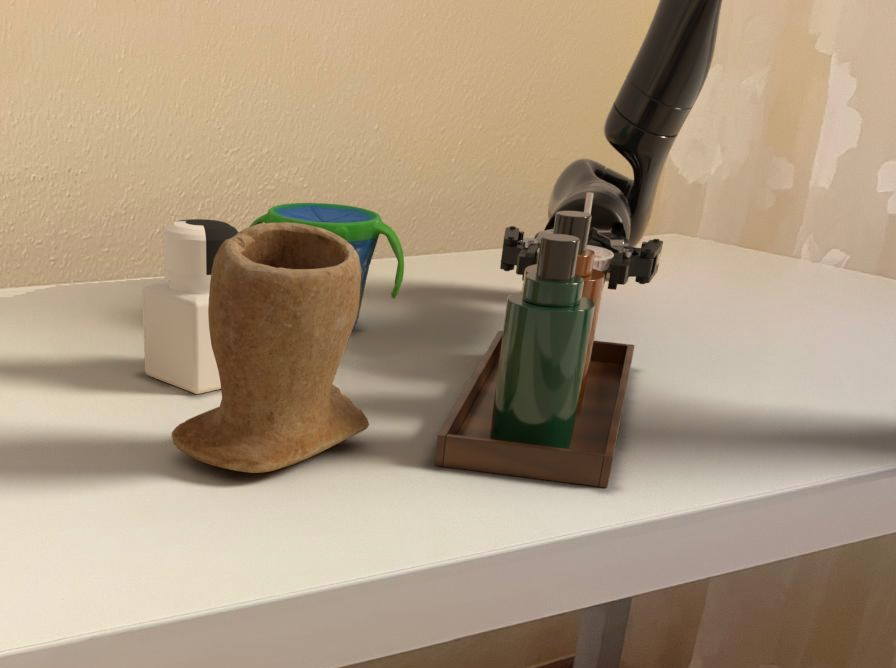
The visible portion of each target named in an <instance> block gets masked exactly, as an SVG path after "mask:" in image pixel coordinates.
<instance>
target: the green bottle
mask: <svg viewBox="0 0 896 668" xmlns="http://www.w3.org/2000/svg"><path fill="white" fill-rule="evenodd" d="M579 244H580V239H579V238H578V237H575V236H571V235H564V234H546V235H543V236H541V240H540V248H539V255H538V262H537V269H536V272H531V273H528V274H526V275H525V280H524V288H523V292H522V291H517V292H514V293H511V294H509V295H508V296H507V298H506V306H505V314H504V322H503V330H502V331H503V336H502V344H501V352H500V359H499V367H498V375H497V383H496V390H495V398H494V406H493V414H492V421H491V429H490V437H489V439H492V440H500V441H508V442H516V443H524V444H532V445H541V446H549V447H557V448H565V449H571V444H572V438H573V432H574V426H575V421H576V415H577V409H578V403H579V397H580V391H581V385H582V379H583V373H584V368H585V362H586V356H587V350H588V344H589V338H590V332H591V326H592V321H593V315H594V309H595V303H594V302H593V301H592V300H590V299H588V298H585V297H582V291H583V285H584V279H583V278H582V277H580V276H577V275H575V269H576V263H577V256H578V250H579Z"/></svg>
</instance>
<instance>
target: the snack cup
mask: <svg viewBox="0 0 896 668" xmlns="http://www.w3.org/2000/svg"><path fill="white" fill-rule="evenodd" d="M285 222H289V223H299V224H305V225H309V226H314V227H318V228H322V229H325V230H328V231H330V232H332V233H334V234H336V235H338V236H340V237H341V238H343V239H345V240H346V241H347V242H348V243H349V244H351V245H352V246H353V247H354V249H355V251H356V252H357V254H358V255H359V260H360V266H361V285H360V298H359V309H358V313H357V317H356V321H355V324H354V327H353V329H356V326H357V324H358V321H359V318H360V313H361V307H362V303H363V298H364V294H365V288H366V284H367V279H368V274H369V271H370V265H371V263H372V259H373V256H374V253H375V249H376V248H377V247H376V246H377V243H378V240H379V237H380V235H384V236H385V237H386V238H387V239H386V240H387V241H388V243H389V245H390V247H391V249H392V252H393V254H394V256H395V258H396V261H397V266H396V272H395V278H394V287H393V289H392V292H391V293H390V296H391V298H392V300H393V299H394V300H395V299H396V297H397V296H398V294H399V292H400V290H401V286H402V283H403V280H404V274H405V257H404V251H403V246H402V243H401V240H400V239H399V236H398V235H397V233H396V231H395V230H394V229H393V228H392V227H391V226H389V225H388V224H386V223H385V222H384V221H383V220H382V218H381V215H380V214H379V213H377V212H375V211H373V210H370V209H367V208H363V207H358V206H352V205H348V204H347V205H346V204H338V203H337V204H336V203H324V202H294V203H293V202H292V203H291V202H290V203H282V204H277V205H274V206H272V207H270V208H269V209H268V211H267V213H265V214H262V215H260V216H259V217H257V218H256V219H255V220H253V221H252V222H251V224H250V225H249V226H248V227H251V226H254V225H257V224H260V223H285Z"/></svg>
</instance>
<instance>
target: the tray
mask: <svg viewBox="0 0 896 668" xmlns="http://www.w3.org/2000/svg"><path fill="white" fill-rule="evenodd" d="M502 336H503V330H498V331H497V332H496V334H495V336H494V337H493V340H492V341H491V343H490V345H489V346H488V347H487V350H486V352H484V355H483V356H482V358H481V360H480V362H479V363H478V365H477V367H476V368H475V369H474V372H473V374H472V376H471V377H470V379H469V381H468V382H467V384H466V386H465V387H464V390H463V391H462V393H461V394H460V396H459V398H458V399H457V402H456V403H455V405H454V406H453V408H452V410H451V411H450V413H449V415H448V417H447V418H446V420H445V422H444V424H443V426H441V429H440V431H439V432H438V434H437V438H436V447H435V455H434V466H436V467H445V468H452V469H458V470H467V471H474V472H481V473H482V472H483V473H489V474H490V473H491V474H496V475H497V474H498V475H506V476H513V477H522V478H528V479H529V478H530V479H536V480H537V479H538V480H544V481H551V482H560V483H567V484H576V485H581V486H582V485H583V486H589V487H591V486H592V487H599V488H605V489H607V488H608V486H609V481H610V477H611V470H612V466H613V460H614V455H615V449H616V444H617V440H618V435H619V429H620V424H621V420H622V419H621V418H622V413H623V408H624V404H625V403H624V402H625V398H626V393H627V387H628V382H629V377H630V372H631V366H632V360H633V356H634V351H635V344H630V343H622V342H621V343H619V342H612V341H602V340H594V343H593V349H592V354H591V360H590V366H589V372H588V378H587V383H586V389H585V395H584V401H583V407H582V410H581V411H580V412H578V413H577V415H576V421H575V426H574V432H573V438H572V444H571V449H565V448H557V447H549V446H541V445H532V444H524V443H516V442H508V441H500V440H492V439H489V437H490V429H491V421H492V414H493V406H494V398H495V390H496V383H497V375H498V367H499V359H500V352H501V344H502Z"/></svg>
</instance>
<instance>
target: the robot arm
mask: <svg viewBox="0 0 896 668" xmlns="http://www.w3.org/2000/svg"><path fill="white" fill-rule="evenodd" d="M722 3H723V0H659V1H658V3H657V7H656V8H655V12H654V15H653V17H652V20H651V22H650V24H649V27H648V30H647V32H646V34H645V37H644V39H643V41H642V42H641V45H640V47H639V50H638V52H637V54H636V56H635V58H634V60H633V62H632V65H631V66H630V69H629V70H628V72H627V74H626V75H625V78H624V80H623V82H622V85H621V87H620V88H619V91H618V93H617V95H616V97H615V99H614V101H613V103H612V105H611V107H610V110H609V112H608V114H607V116H606V119H605V122H604V125H603V135H604V137H605V140H606V142H607V143H609V145H610V146H611V147H612V148H613V149H614V150H615V151H616V152H617V153H618V154H620V155H621V157H623V158H624V159H625V161H626V162H628V164H629V166H630V167H631V169H632V174H633V179H632V178H630V177H628V176H626V175H624V174H622V173H620V172H618V171H617V170H614V169H612V168H610V167H607V166H606V165H604V164H602V163H600V162H599V161H595V160H593V159H590V158H578V159H576V160H574V161H572V162H571V163H569V164H568V165H567V166H565V168H564V169H563V170H562V171H561V173H560V174H559V175H558V177H557V179H556V180H555V182H554V185H553V187H552V190H551V192H550V195H549V200H548V205H547V219H548V222H547V223H546V225H545V227H544V229H543V230H541V231H538V232H537V233H536V234H535V235H534V237H524V236H525V231H524V230H520V228H519V227H516V226H515V225H510V226H507V227H505V229H504V235H503V243H502V244H503V245H502V250H501V257H500V266H499V269H500V270H503V271H504V272H510V271H514V270H515V274H516V275H518V276H522V278H521V281H523V280H524V273H525V268H526V267H528V266H531V265H536V263H535V260H536V254H537V249H538V248H540V240H541V236H543V235H546V234H553V230H554V223H555V216H556V213H557V212H559V211H579V212H584V208H585V200H586V193H588V192H590V193H594V194H593V201H592V208H591V216H592V217H591V223H590V229H589V235H588V241H587V245H592V246H597V247H602V248H605V249H608V250H610V251H612V252H613V254H614V257H613V261H612V266H611V269H609V270H608V272H607V276H606V280H605V283H606V282H607V290H615V291H616V290H617V287H618V285H623V286H624V285H626V284H627V283H628V282H629V278H634V277H635V279H634V282H635V283H638V284H639V285H645V284H650V282H651V281H652V280H653V279H654V277H655V276H656V275H657V273H658V271H659V265H660V261H661V257H662V256H661V255H662V250H663V245H664V241H663V240H660V238H653V239H649V240H648V241H642V240H643V239H644V237H645V234H646V232H647V230H648V227H649V225H650V220H651V218H652V213H653V209H654V205H655V201H656V196H657V191H658V187H659V183H660V180H661V176H662V173H663V170H664V167H665V164H666V162H667V159H668V157H669V154H670V152H671V149H672V147H673V145H674V144H675V141H676V140H677V137H678V135H679V133H680V132H681V130H682V129H683V126H684V125H685V122H686V121H687V119H688V117H689V115H690V113H691V111H692V109H693V108H694V105H695V103H696V102H697V100H698V98H699V96H700V94H701V92H702V90H703V88H704V85H705V83H706V80H707V78H708V76H709V75H708V74H709V73H710V69H711V66H712V63H713V59H714V54H715V50H716V45H717V44H716V42H717V37H718V30H719V24H720V23H719V22H720V16H721V10H722ZM641 241H642V242H641ZM640 243H641V245H640V247H638V245H639V244H640ZM515 266H516V267H515Z"/></svg>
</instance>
